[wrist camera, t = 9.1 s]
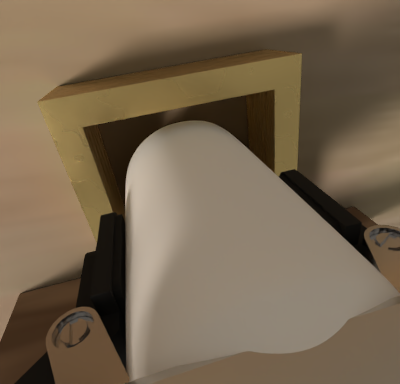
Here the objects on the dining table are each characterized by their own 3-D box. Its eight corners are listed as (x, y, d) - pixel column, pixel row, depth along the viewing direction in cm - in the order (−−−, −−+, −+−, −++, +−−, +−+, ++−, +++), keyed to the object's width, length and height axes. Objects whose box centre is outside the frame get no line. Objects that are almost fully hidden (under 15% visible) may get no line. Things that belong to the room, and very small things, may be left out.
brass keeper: (268, 214, 20) (294, 246, 17) (119, 252, 19) (118, 294, 16) (266, 49, 15) (302, 53, 12) (57, 86, 13) (37, 101, 10)
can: (254, 117, 14) (576, 324, 4) (238, 224, 17) (400, 496, 7) (120, 117, 13) (104, 438, 3) (128, 233, 16) (136, 591, 6)
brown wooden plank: (350, 227, 22) (432, 298, 16) (33, 313, 19) (-8, 437, 13) (353, 206, 21) (442, 273, 15) (19, 293, 18) (-32, 418, 12)
